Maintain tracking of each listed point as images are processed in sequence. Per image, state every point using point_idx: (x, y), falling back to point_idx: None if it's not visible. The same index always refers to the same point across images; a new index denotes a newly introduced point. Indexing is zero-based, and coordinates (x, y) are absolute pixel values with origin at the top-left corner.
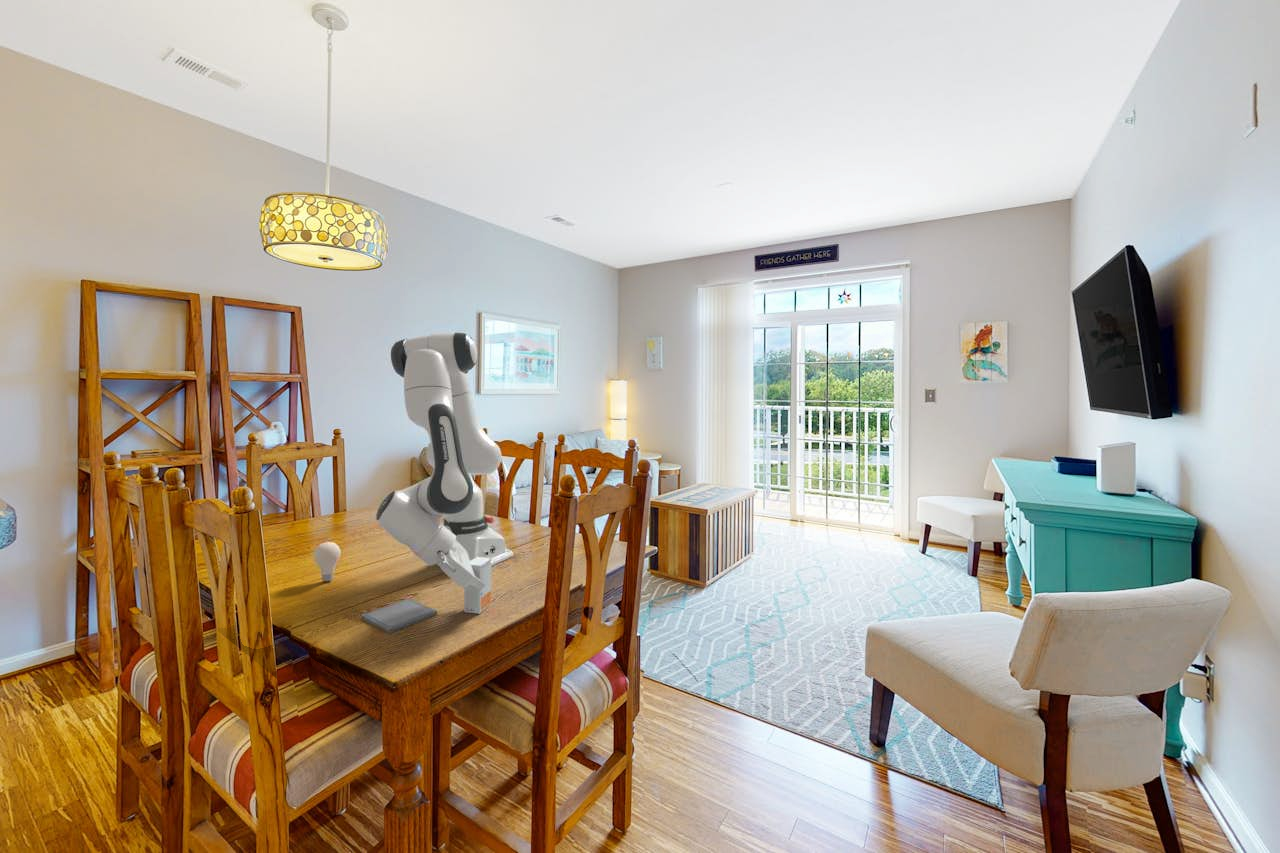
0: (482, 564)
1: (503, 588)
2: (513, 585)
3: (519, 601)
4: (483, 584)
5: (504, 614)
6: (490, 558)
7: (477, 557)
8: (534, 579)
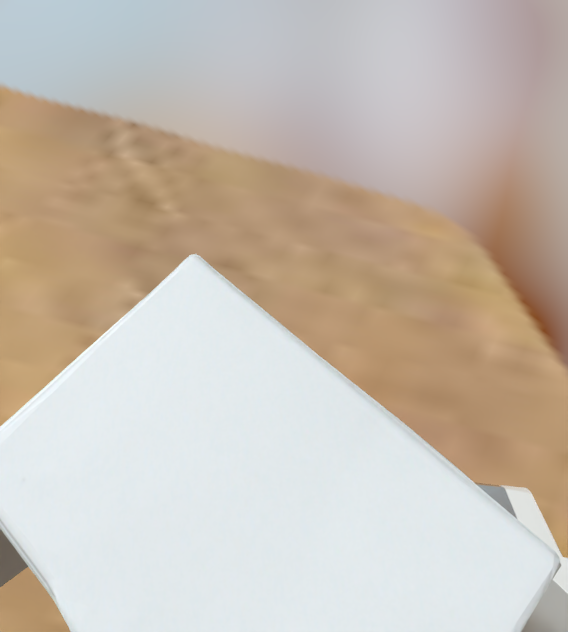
0: (470, 480)
1: (67, 277)
2: (61, 218)
3: (304, 248)
4: (530, 507)
5: (453, 371)
6: (195, 264)
7: (11, 470)
8: (55, 109)
